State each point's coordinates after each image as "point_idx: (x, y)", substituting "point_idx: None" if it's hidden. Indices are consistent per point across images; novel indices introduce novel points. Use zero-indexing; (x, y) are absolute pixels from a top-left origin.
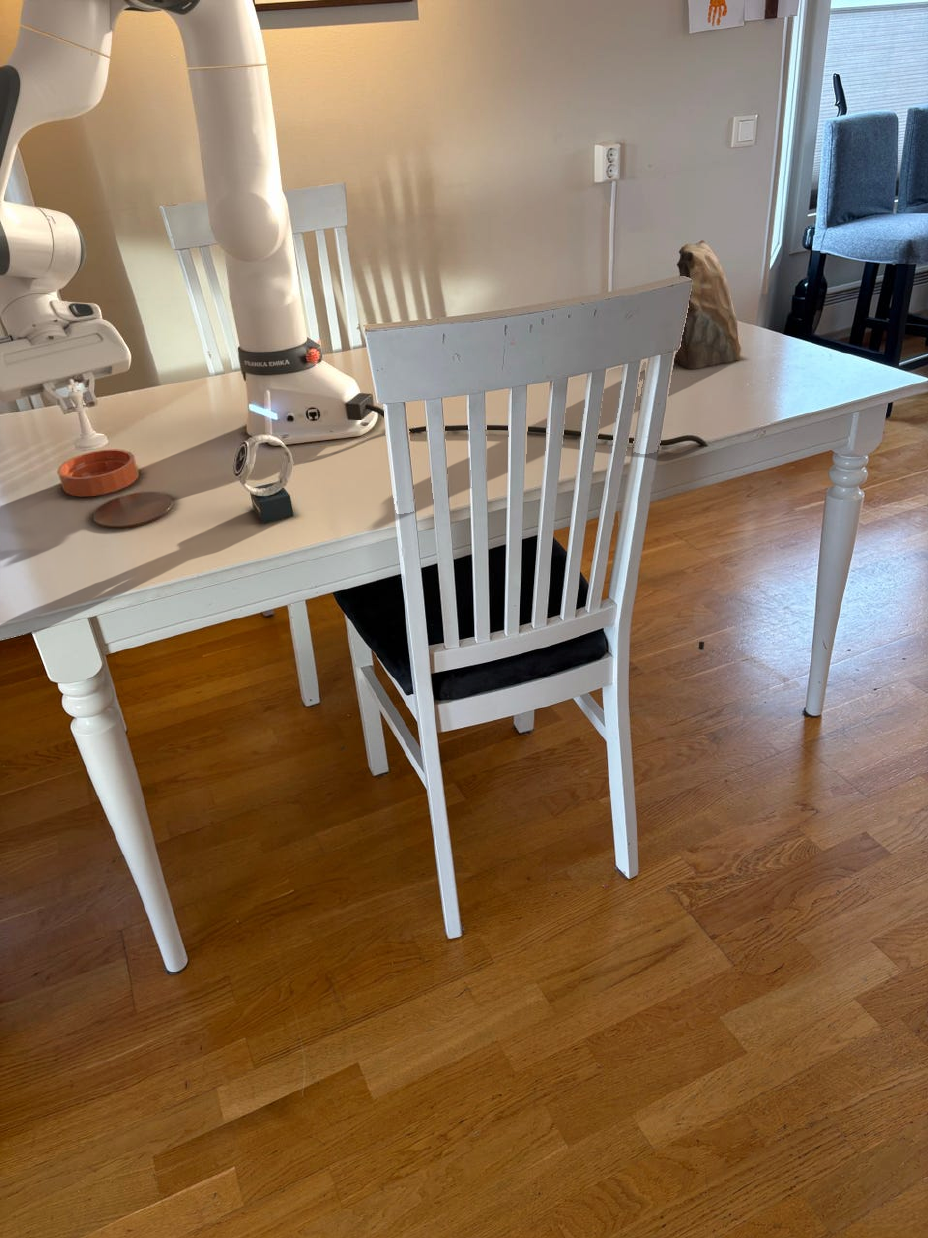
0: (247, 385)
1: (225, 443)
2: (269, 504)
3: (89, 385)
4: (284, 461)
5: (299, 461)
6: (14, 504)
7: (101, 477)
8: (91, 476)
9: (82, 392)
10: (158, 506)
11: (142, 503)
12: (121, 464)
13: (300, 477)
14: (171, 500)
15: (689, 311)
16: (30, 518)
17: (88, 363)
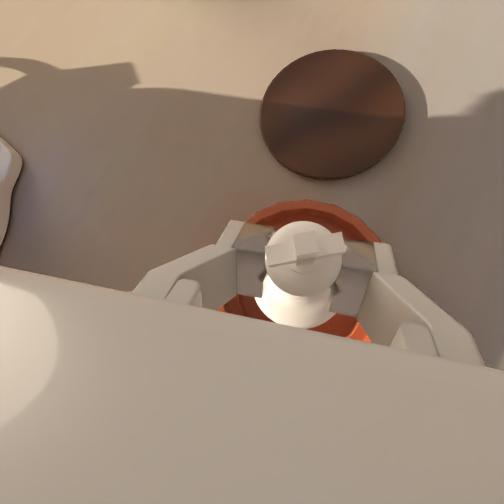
0: None
1: (49, 251)
2: None
3: (207, 260)
4: None
5: (51, 76)
6: (491, 355)
7: (331, 205)
8: (348, 219)
9: (271, 238)
10: (295, 84)
11: (306, 117)
12: (239, 299)
13: (93, 26)
14: (267, 89)
15: None
16: (491, 248)
17: (81, 312)
